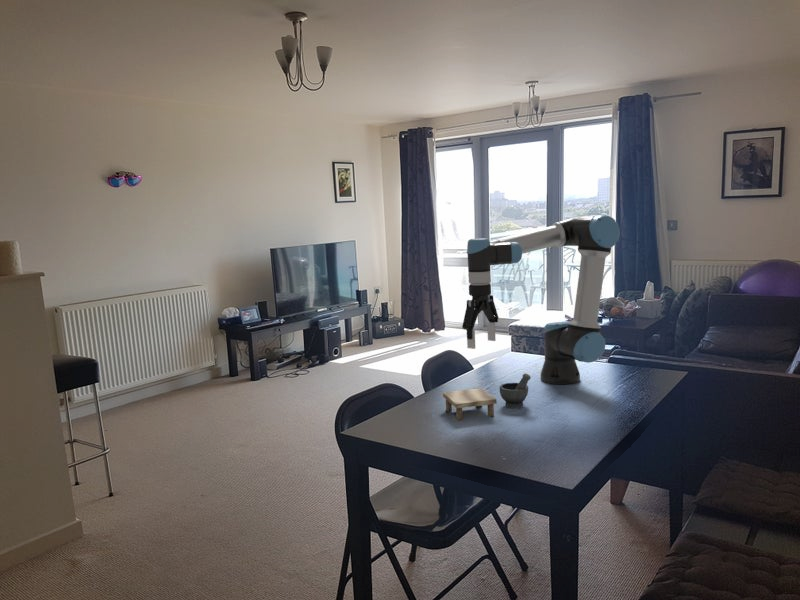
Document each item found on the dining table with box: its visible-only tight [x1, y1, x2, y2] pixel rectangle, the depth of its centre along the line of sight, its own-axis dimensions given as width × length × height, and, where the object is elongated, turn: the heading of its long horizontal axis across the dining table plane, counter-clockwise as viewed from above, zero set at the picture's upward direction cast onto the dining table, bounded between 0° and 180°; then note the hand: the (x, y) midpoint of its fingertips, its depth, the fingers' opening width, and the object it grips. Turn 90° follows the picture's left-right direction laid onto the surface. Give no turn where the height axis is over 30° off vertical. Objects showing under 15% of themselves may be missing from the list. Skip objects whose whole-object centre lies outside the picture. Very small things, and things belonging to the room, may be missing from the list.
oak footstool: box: [442, 387, 498, 422], centre depth 202 cm, size 14×14×6 cm
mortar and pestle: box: [499, 373, 532, 409], centre depth 206 cm, size 11×9×12 cm
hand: (481, 344), depth 207 cm, fingers open, 13 cm apart
